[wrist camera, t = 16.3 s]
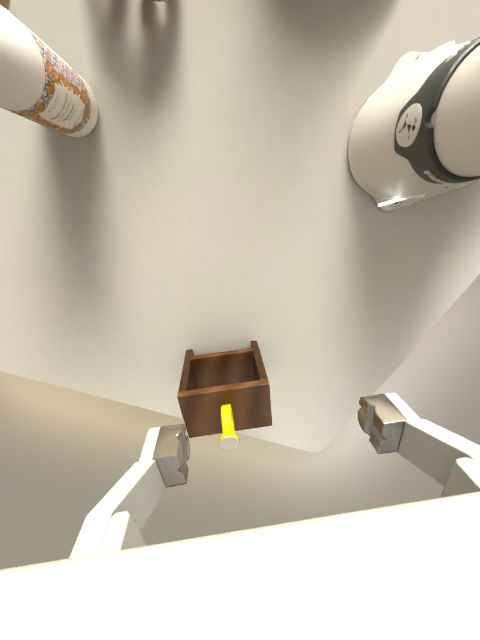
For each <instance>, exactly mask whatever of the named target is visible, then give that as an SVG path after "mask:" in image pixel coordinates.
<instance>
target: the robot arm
mask: <svg viewBox="0 0 480 640" xmlns="http://www.w3.org/2000/svg"><path fill="white" fill-rule="evenodd" d="M348 159H349V165H350V169H351V172H352V175H353V177H354V179H355V181H356V182H357V184H358V185H359V186H360V187H361V188H362V189H363V190H364V191H366V192H367V193H369V194H370V195H371V196H373V198H374V199H375V201H376V203H377V205H378V207H379V209H380V210H381V211H383V212H387V211H392V210H395V209H398V208H401V207H404V206H407V205H410V204H413V203H416V202H419V201H422V200H425V199H428V198H431V197H434V196H437V195H440V194H443V193H446V192H449V191H452V190H455V189H458V188H461V187H464V186H467V185H470V184H472V183H474V182H475V181H476V180H477V179H480V37H478V38H477V39H475V40H473V41H471V42H465V43H463V44H455V42H454V41H451V42H448V43H446V44H444V45H442V46H440V47H438V48H437V49H435V50H433V51H432V52H430V53H427V52H425V53H420V52H414V51H412V52H409V53H407V54H405V55H404V56H402V57H401V58H400V60H399V61H398V62H397V64H396V65H395V67H394V69H393V71H392V72H391V74H390V76H389V78H388V79H387V80H386V82H385V83H384V84H383V85H382V86H381V87H379V88H378V89H377V90H376V91H375V92H374V93H373V94H372V95H371V96H370V97H369V98H368V100H367V101H366V102H365V103H364V105H363V106H362V108H361V110H360V111H359V113H358V115H357V117H356V119H355V121H354V124H353V127H352V130H351V134H350V138H349V145H348ZM394 202H396V203H394ZM359 404H360V406H361V408H360V409H359V410H358V421H359V424H360V426H361V428H362V430H363V431H364V432H365V433H367V434H369V435H370V442H371V444H372V445H373V447H374V448H375V450H376V451H377V453H378V454H382V453H390V452H398V453H399V454H400V455H402V456H403V457H404V458H406V459H407V460H409V461H410V462H411V463H413V464H414V465H415V466H417V467H418V468H419V469H421V470H422V471H424V472H425V473H426V474H428V475H429V476H430V477H432V478H433V479H435V480H436V481H437V482H439V483H440V484H442V485H443V486H444V489H443V492H442V495H441V497H440V498H436V499H430V500H424V501H418V502H411V503H406V504H399V505H393V506H387V507H381V508H375V509H370V510H363V511H356V512H351V513H345V514H338V515H332V516H326V517H320V518H313V519H307V520H301V521H296V522H289V523H284V524H278V525H271V526H265V527H259V528H253V529H247V530H241V531H234V532H228V533H222V534H216V535H210V536H205V537H198V538H192V539H186V540H180V541H173V542H167V543H162V544H155V545H149V546H146V543H145V542H144V540H143V538H142V536H141V534H140V531H141V530H142V528H143V526H144V525H145V523H146V521H147V520H148V518H149V517H150V515H151V513H152V512H153V510H154V509H155V507H156V505H157V504H158V502H159V501H160V499H161V497H162V496H163V494H164V493H165V491H166V489H167V487H173V486H178V485H183V484H187V476H188V466H187V463H186V462H187V461H188V460H189V455H190V444H189V439H188V436H186V435H185V432H186V428H185V425H184V424H178V425H170V426H162V427H155V428H150V429H149V430H148V432H147V435H146V439H145V443H144V446H143V449H142V452H141V456H140V459H139V462H138V463H135V464H134V465H133V466H132V467H131V468H130V469H129V470H128V471H127V472H126V474H125V475H124V476H123V477H122V478H121V479H120V480H119V481H118V482H117V483H116V484H115V485H114V487H113V488H112V489H111V490H110V491H109V492H108V493H107V494H106V495H105V496H104V498H103V499H102V500H101V501H100V502H99V503H98V504H97V505H96V506H95V507H94V508H93V510H92V511H91V512H90V513H89V514H88V515H87V516H86V519H85V521H84V523H83V526H82V528H81V531H80V533H79V535H78V538H77V540H76V543H75V545H74V548H73V550H72V552H71V555H70V557H69V559H63V560H57V561H51V562H44V563H38V564H32V565H26V566H20V567H14V568H8V569H2V570H0V640H480V446H479V445H477V444H475V443H473V442H471V441H469V440H467V439H465V438H463V437H461V436H459V435H457V434H455V433H452V432H450V431H448V430H446V429H444V428H442V427H440V426H438V425H436V424H434V423H432V422H430V421H428V420H425V419H420V418H419V417H418V416H417V415H416V414H415V412H414V411H413V410H412V409H410V407H409V406H408V405H407V404H406V403H405V402H404V401H403V400H402V399H401V398H400V397H399V396H398V395H397V394H396V393H394V392H392V393H385V394H378V395H372V396H365V397H361V398H360V401H359Z"/></svg>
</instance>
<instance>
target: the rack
mask: <svg viewBox="0 0 480 640" xmlns="http://www.w3.org/2000/svg"><path fill="white" fill-rule="evenodd" d="M177 398H178V401H179V405H180V408H181V411H182V415H183V418H184V421H185V425H186V429H187V432H188V435H189V438H192V437H198V436H204V435H212V434H217V433H223V431H222V420H221V406H222V405H227V404H230V405H231V408H232V414H233V421H234V429H235V431H238V430H245V429H251V428H258V427H265V426H271V425H272V416H271V402H270V388H269V381H268V378H267V375H266V371H265V368H264V364H263V361H262V357H261V354H260V350H259V347H258V344H257V341H251V348H249V349H242V350H235V351H228V352H221V353H213V354H206V355H199V356H194V354H193V350H186V355H185V361H184V366H183V371H182V376H181V381H180V386H179V391H178V396H177Z"/></svg>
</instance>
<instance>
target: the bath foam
mask: <svg viewBox="0 0 480 640" xmlns="http://www.w3.org/2000/svg"><path fill="white" fill-rule="evenodd" d="M0 107H1V108H4V109H6V110H8V111H11V112H13V113H15V114H18V115H20V116H22V117H25V118H27V119H29V120H32V121H34V122H36V123H39V124H41V125H43V126H46V127H48V128H50V129H53V130H55V131H57V132H60V133H62V134H65V135H67V136H71V137H82V136H85V135H87V134H89V133H90V132H91V131H92V130H93V128H94V127H95V125H96V122H97V117H98V108H97V103H96V99H95V96H94V94H93V92H92V90H91V88H90V87H89V85H88V84H87V83H86V82H85V81H84V79H83V78H82V77H81V76H80V75H79V74H77V73H76V72H75V71H74V70H73V69H72V68H71V67H70V66H69V65H68V64H67V63H66V62H65V61H64V60H63V59H61V58H60V57H59V56H58V55H57V54H56V53H55V52H54V51H53V50H52V49H50V48H49V47H48V46H47V45H46V44H45V43H44V42H43V41H42V40H41V39H40V38H38V37H37V36H36V35H35V34H34V33H33V32H32V31H31V30H30V29H29V28H28V27H26V26H25V25H24V24H23V23H22V22H21V21H20V20H19V19H18V18H17V17H16V16H14V15H13V14H12V13H11V12H9V11H8V10H7V9H5V8H4V7H2V6H1V5H0Z"/></svg>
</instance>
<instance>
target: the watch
mask: <svg viewBox="0 0 480 640" xmlns="http://www.w3.org/2000/svg"><path fill="white" fill-rule="evenodd" d="M221 420H222V431H223V435H222V436H221V437H220V439H219V445H220V447H221V449H223V450H225V451H231V450H234V449H236V448H237V447H238V446H239V437H238V436H237V435H236V434H235V429H234V421H233V414H232V408H231V405H230V404H227V405H222V406H221Z"/></svg>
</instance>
